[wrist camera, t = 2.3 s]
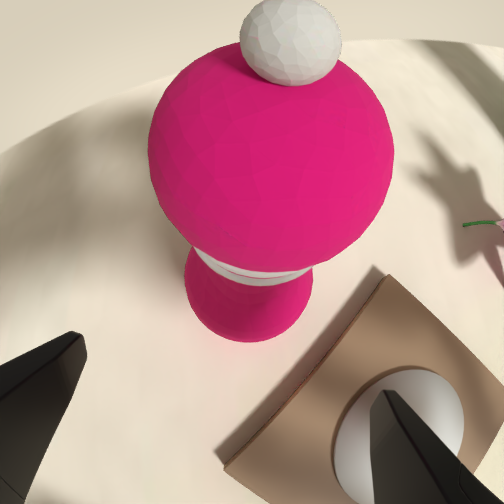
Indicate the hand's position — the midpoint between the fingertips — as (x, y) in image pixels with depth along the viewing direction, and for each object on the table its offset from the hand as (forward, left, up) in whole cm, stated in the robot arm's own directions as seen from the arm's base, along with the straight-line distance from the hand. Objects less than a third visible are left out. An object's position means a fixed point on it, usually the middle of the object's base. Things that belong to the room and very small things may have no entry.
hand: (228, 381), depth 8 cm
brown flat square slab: (+4, -13, -13) cm, 19 cm away
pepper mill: (+5, +3, -13) cm, 14 cm away
